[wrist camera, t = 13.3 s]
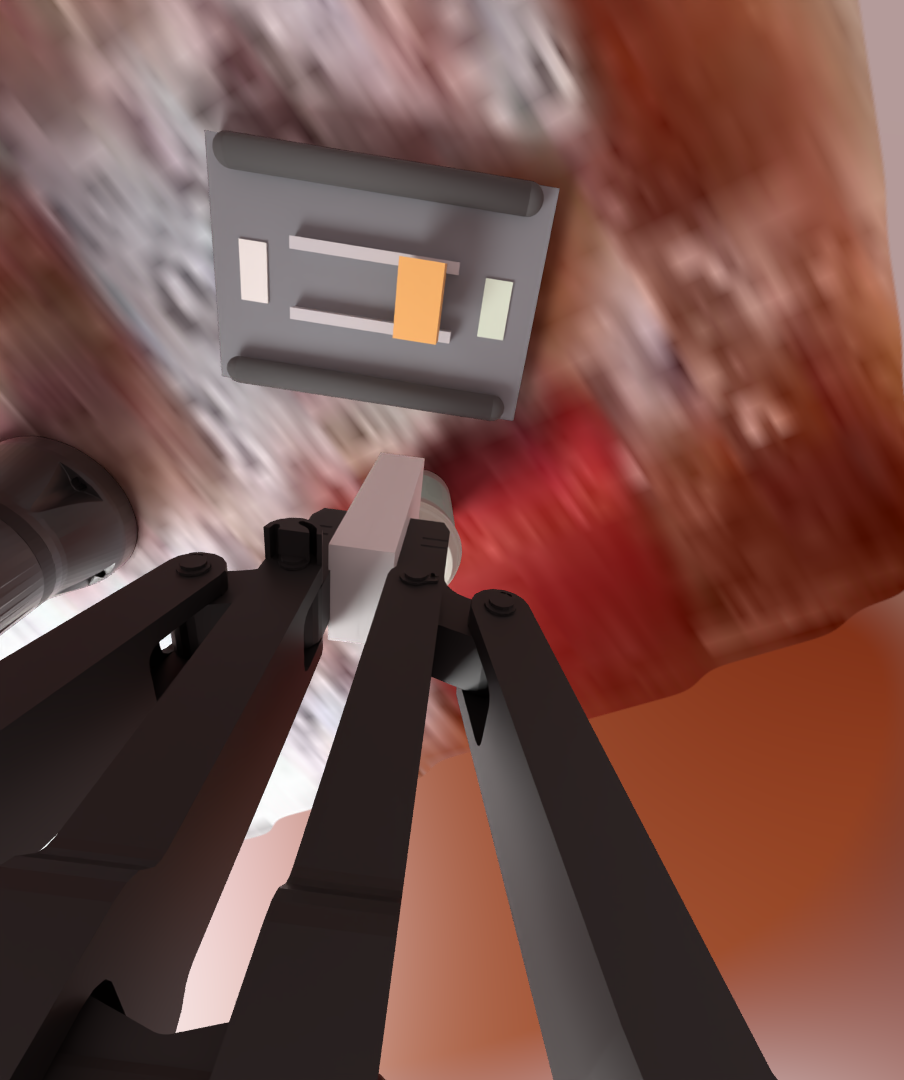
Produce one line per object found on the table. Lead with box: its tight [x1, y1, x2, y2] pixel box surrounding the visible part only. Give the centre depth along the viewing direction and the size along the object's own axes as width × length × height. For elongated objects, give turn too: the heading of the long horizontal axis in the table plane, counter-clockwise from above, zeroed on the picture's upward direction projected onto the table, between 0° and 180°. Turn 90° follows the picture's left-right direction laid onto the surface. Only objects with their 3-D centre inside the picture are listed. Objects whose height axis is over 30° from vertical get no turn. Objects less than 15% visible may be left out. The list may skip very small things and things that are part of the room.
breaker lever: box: [393, 256, 447, 345], centre depth 36 cm, size 3×5×4 cm, turn 172°
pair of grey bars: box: [212, 131, 544, 421], centre depth 37 cm, size 22×16×2 cm
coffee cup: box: [419, 470, 462, 585], centre depth 42 cm, size 8×9×12 cm
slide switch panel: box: [205, 130, 560, 421], centre depth 38 cm, size 24×16×3 cm, turn 82°
